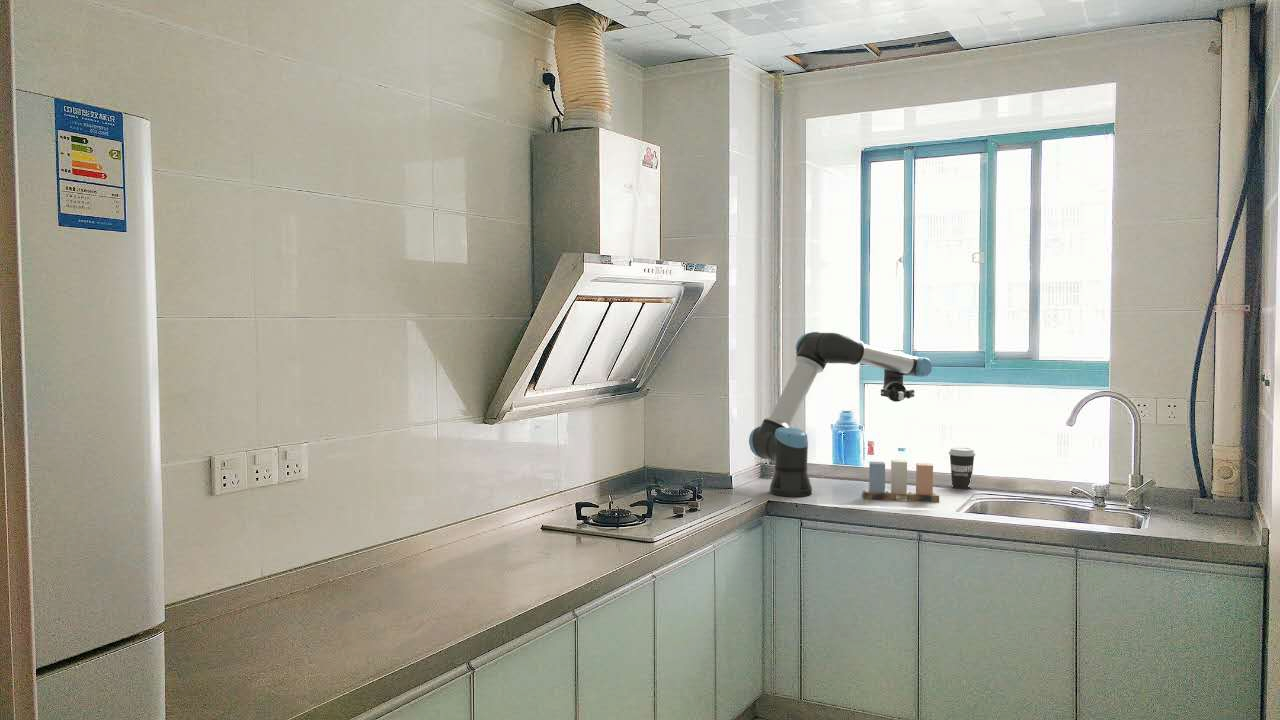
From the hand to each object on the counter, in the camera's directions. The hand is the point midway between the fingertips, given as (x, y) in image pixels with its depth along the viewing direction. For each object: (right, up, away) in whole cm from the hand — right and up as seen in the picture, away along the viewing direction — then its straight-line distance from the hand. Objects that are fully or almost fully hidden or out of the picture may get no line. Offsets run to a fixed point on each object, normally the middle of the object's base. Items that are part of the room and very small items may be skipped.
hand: (901, 396), depth 335 cm
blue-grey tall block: (-14, -35, -17) cm, 41 cm away
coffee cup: (+24, -35, +5) cm, 43 cm away
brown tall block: (+2, -35, -20) cm, 41 cm away
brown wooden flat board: (-5, -36, -15) cm, 39 cm away
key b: (-5, -35, -13) cm, 37 cm away
